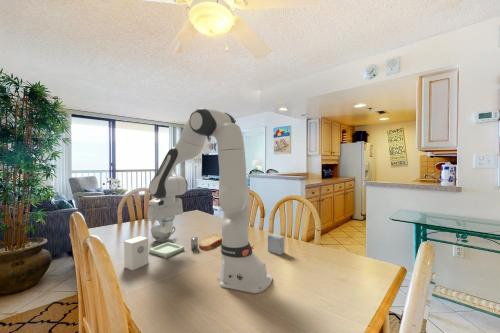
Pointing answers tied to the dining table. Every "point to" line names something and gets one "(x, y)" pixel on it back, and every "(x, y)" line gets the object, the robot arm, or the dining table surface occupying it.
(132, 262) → the cream tall block
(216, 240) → the bread slice
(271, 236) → the medicine box
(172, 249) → the tray
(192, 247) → the cylinder
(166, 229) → the teal band cartridge
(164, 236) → the teacup
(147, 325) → the dining table surface
